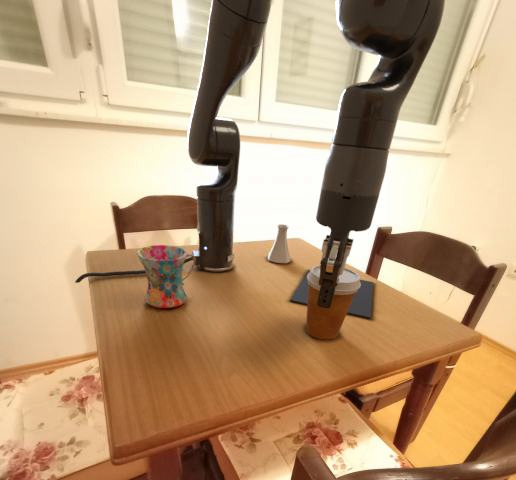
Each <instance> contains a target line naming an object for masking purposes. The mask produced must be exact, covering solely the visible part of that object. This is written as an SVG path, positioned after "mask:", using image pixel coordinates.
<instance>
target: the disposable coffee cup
mask: <svg viewBox="0 0 516 480" xmlns="http://www.w3.org/2000/svg"><path fill="white" fill-rule="evenodd" d="M320 265H321V264H317V265H314V266H312V267H311V269H309V270H310V273H308V274H307V280H308V302H307V305H306V321H305V324H306V325H305V330H306V333H307V334H309V335H310V336H311V337H313V338H316V339H319V340H334V339H336V338H337V337H338V335H339V333H340V331H341V328H342V326H343V324H344V321H345V319H346V317H347V315H348V314H347V312H348V310H349V307H350V305H351V302H352V300H353V298H354V295H355V293H356V292H357V290H358V289H359V288H360V286H361V283H360V280H361V276H360V274H359V273H358V272H357V271H356V270H353V269H351V268H348V267H345V268H344V271H343V274H342V275H340V276H339V282H338V285H337V286H336V288H335V292H334V296H333V300H332V304H331V307H330V308H329V309H327V308H322V307H319V306H318V305H317V302H318V297H319V292H320V287H321V285H319V279H320Z"/></svg>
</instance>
